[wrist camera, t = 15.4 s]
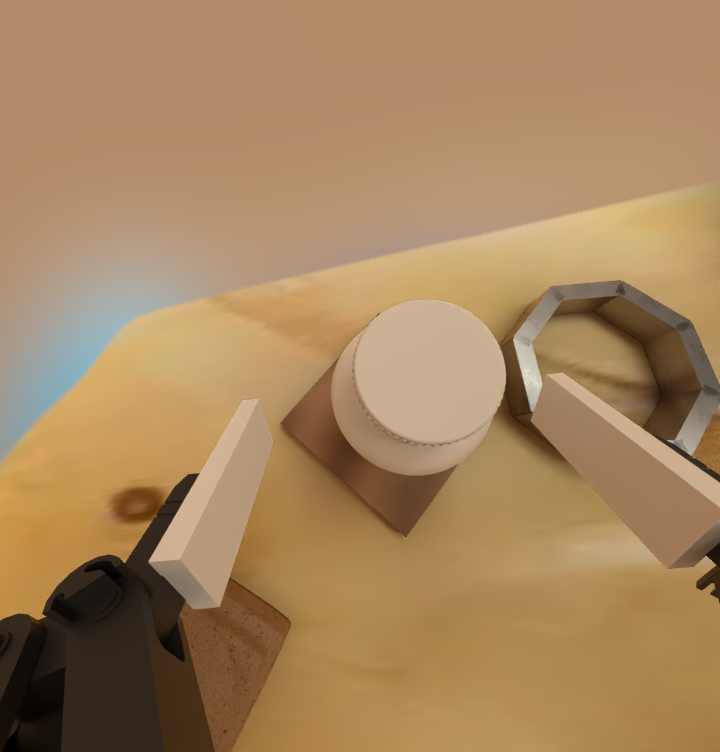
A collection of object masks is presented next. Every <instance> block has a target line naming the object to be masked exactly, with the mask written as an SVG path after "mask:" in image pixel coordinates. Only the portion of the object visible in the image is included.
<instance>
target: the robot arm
mask: <svg viewBox="0 0 720 752" xmlns="http://www.w3.org/2000/svg"><path fill="white" fill-rule="evenodd" d="M531 422H532V423H533V424H534V425H535V426H536V427H537V428H538V429H539V430H540V432H541V433H542V434H543V435H544V436H545V437H546V438H547V439H548V440H549V441H550V442H551V444H552V445H553V446H554V447H555V448H556V449H557V450H558V451H559V452H560V453H561V454H562V455H563V457H564V458H565V459H566V460H567V461H568V462H569V463H570V464H571V465H572V466H573V467H574V468H575V470H576V471H577V472H578V473H579V474H580V475H581V476H582V477H583V478H584V479H585V480H586V481H587V483H588V484H589V485H590V486H591V487H592V488H593V489H594V490H595V491H596V492H597V493H598V495H599V496H600V497H601V498H602V499H603V500H604V501H605V502H606V503H607V504H608V505H609V506H610V508H611V509H612V510H613V511H614V512H615V513H616V514H617V515H618V516H619V517H620V518H621V519H622V521H623V522H624V523H625V524H626V525H627V526H628V527H629V528H630V529H631V530H632V531H633V532H634V534H635V535H636V536H637V537H638V538H639V539H640V540H641V541H642V542H643V543H644V544H645V545H646V547H647V548H648V549H649V550H650V551H651V552H652V553H653V554H654V555H655V556H656V557H657V559H658V560H659V561H660V562H661V563H662V564H663V565H664V566H665V567H666V568H667V569H672V568H684V567H694V566H695V565H696V564H697V563H698V562H699V561H700V560H702V559H703V558H704V557H705V556H707V557H708V558H710V559H711V560H712V561H713V562H714V563H715V564H716V566H715V567H714V568H713V569H711V570H710V571H709V572H708V573H706V574H705V575H704V576H703V577H701V578H700V579H699V580H698V581H697V584H696V588H698V589H700V590H703V589H705V588H706V587H707V586H709V585H710V584H711V583H714V585H715V589H714V590H713V591H712V592H711V593H710V595H712V596H715V597H717V598H718V599H719V602H720V475H719V474H717V473H716V472H714V471H713V470H711V469H708V468H707V466H706V465H704V464H703V463H701V462H700V461H698V460H697V459H693V458H692V456H691V455H689V454H688V453H686V452H685V451H684V450H682V449H681V448H679V447H678V446H676V445H675V444H673V443H671V442H669V441H667V440H665V439H662V438H660V437H658V436H656V435H654V434H649V433H648V432H647V431H645V430H644V429H642V428H641V427H639V426H638V425H637V424H635V423H634V422H632V421H631V420H630V419H628V418H627V417H625V416H624V415H622V414H621V413H620V412H618V411H617V410H615V409H614V408H612V407H611V406H610V405H608V404H607V403H605V402H604V401H602V400H601V399H600V398H598V397H597V396H595V395H594V394H592V393H591V392H590V391H588V390H587V389H585V388H584V387H582V386H581V385H580V384H578V383H577V382H575V381H574V380H572V379H571V378H570V377H568V376H567V375H565V374H564V373H554V374H546V376H545V379H544V382H543V385H542V388H541V391H540V394H539V397H538V400H537V403H536V406H535V409H534V412H533V415H532V418H531ZM273 444H274V442H273V439H272V436H271V433H270V430H269V427H268V424H267V420H266V417H265V414H264V411H263V408H262V405H261V402H260V399H249V400H242V402H241V404H240V405H239V407H238V409H237V411H236V412H235V414H234V416H233V417H232V419H231V421H230V423H229V424H228V426H227V428H226V429H225V431H224V433H223V435H222V436H221V438H220V440H219V441H218V443H217V445H216V447H215V448H214V450H213V452H212V453H211V455H210V457H209V459H208V460H207V462H206V464H205V465H204V467H203V469H202V471H201V472H200V473H199V474H188V475H187V476H186V477H185V478H184V479H183V480H182V481H181V482H180V483H178V484H177V485H176V486H175V487H174V489H173V490H172V492H171V493H170V495H169V496H168V498H167V499H166V501H165V505H163V506H162V507H161V509H160V510H159V512H158V513H157V517H155V518H154V519H153V521H152V523H151V524H150V526H149V527H148V529H147V530H146V532H145V533H144V535H143V536H142V538H141V540H140V541H139V543H138V544H137V546H136V547H135V549H134V550H133V552H132V553H131V555H130V556H129V558H128V560H127V561H126V563H124V562H123V561H122V560H121V559H120V558H118V557H117V556H113V555H105V556H100V557H97V558H95V559H93V560H90V561H88V562H86V563H84V564H83V565H82V566H80V567H79V568H77V569H76V570H75V571H73V572H72V573H70V574H69V575H68V576H67V577H66V578H65V579H64V580H63V581H62V582H61V583H60V584H59V585H58V586H57V587H56V589H55V590H54V592H53V593H52V594H51V596H50V597H49V599H48V600H47V602H46V605H45V608H44V610H43V613H42V614H43V615H45V616H47V617H45V618H42V619H40V620H37V619H35V618H33V617H31V616H30V615H28V614H16V615H13V616H10V617H7V618H4V619H2V620H1V621H0V752H215V749H214V745H213V741H212V737H211V733H210V729H209V725H208V721H207V717H206V713H205V709H204V705H203V701H202V697H201V693H200V689H199V685H198V681H197V677H196V673H195V669H194V665H193V661H192V657H191V653H190V649H189V645H188V641H187V637H186V633H185V629H184V625H183V621H182V619H181V617H180V616H179V615H180V613H181V610H182V608H183V606H184V603H185V601H186V602H187V603H188V604H189V605H190V606H191V607H192V608H193V609H204V608H216V607H220V604H221V601H222V598H223V595H224V592H225V589H226V586H227V583H228V580H229V577H230V574H231V571H232V568H233V565H234V562H235V559H236V556H237V553H238V550H239V547H240V544H241V541H242V538H243V535H244V532H245V529H246V526H247V522H248V519H249V516H250V513H251V510H252V507H253V504H254V501H255V498H256V495H257V492H258V489H259V486H260V483H261V480H262V477H263V474H264V471H265V468H266V465H267V462H268V459H269V456H270V453H271V450H272V447H273Z"/></svg>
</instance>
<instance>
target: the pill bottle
mask: <svg viewBox="0 0 720 752" xmlns="http://www.w3.org/2000/svg"><path fill="white" fill-rule="evenodd" d="M505 385H506V367H505V363H504V358H503V354H502V351H501V349H500V346H499V344H498V342H497V340H496V339H495V337H494V336H493V334H492V333H491V331H490V330H489V329H488V328H487V326H486V325H485V324H484V323H483V322H482V321H481V320H480V319H478V318H477V317H476V316H475V315H473V314H472V313H470V312H469V311H467V310H465V309H463V308H462V307H459V306H457V305H455V304H452V303H449V302H445V301H440V300H433V299H418V300H411V301H406V302H403V303H399V304H397V305H394V306H392V307H391V308H389V309H386V310H385V311H384V312H381V313H380V314H379V315H378V316H376V317H375V318H374V319H373V321H371V322H370V323H369V325H368V327H367V326H366V328H365V329H364V330H362V331H361V332H360V333H359V334H358V335H356V336H355V337H354V338H353V339H352V341H351V342H350V343H349V344H348V345H347V347H346V348H345V349H344V351H343V353H342V354H341V356H340V358H339V360H338V362H337V365H336V367H335V371H334V374H333V379H332V388H331V397H332V406H333V411H334V414H335V418H336V420H337V423H338V425H339V428H340V430H341V431H342V433H343V435H344V436H345V438H346V439H347V441H348V442H349V443H350V445H351V446H352V447H353V448H354V449H355V450H356V451H357V452H358V453H359V454H360V455H361V456H363V457H364V458H365V459H366V460H368V461H369V462H371V463H373V464H374V465H376V466H378V467H380V468H382V469H385V470H387V471H390V472H394V473H398V474H403V475H413V476H419V475H429V474H434V473H438V472H442V471H444V470H447V469H449V468H451V467H453V466H455V465H457V464H459V463H460V462H462V461H463V460H464V459H466V458H467V457H468V456H469V455H470V454H471V453H472V452H473V451H474V450H475V449H476V448H477V447H478V446H479V444H480V443H481V442H482V440H483V439H484V437H485V435H486V434H487V432H488V430H489V427H490V425H491V422H492V419H493V415H494V414H495V413H496V412H497V410H498V409H497V408H498V407H499V406H500V404H501V400H502V399H503V396H504V395H503V393H504V392H505Z"/></svg>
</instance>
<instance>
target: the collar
mask: <svg viewBox="0 0 720 752" xmlns="http://www.w3.org/2000/svg"><path fill="white" fill-rule="evenodd" d="M591 311H593V312H595V313H596V314H598V315H599V316H601V317H603V318H604V319H606V320H607V321H609V322H611V323H612V324H614V325H615V326H617V327H619V328H620V329H622V330H623V331H625V332H627V333H628V334H630V335H631V336H633V337H635V338H636V339H638V340H639V341H641V342H642V343H643V345H644V348H645V350H646V353H647V356H648V358H649V361H650V364H651V366H652V369H653V371H654V374H655V377H656V379H657V382H658V385H659V387H660V390H661V392H662V395H663V396H662V397H661V399H660V401H659V403H658V404H657V406H656V408H655V409H654V411H653V413H652V415H651V416H650V418H649V420H648V422H647V423H646V425H645V427H644V430H645V431H647V432H648V433H649V434H654V435H656V436H658V437H660V438H662V439H665V440H667V441H669V442H671V443H673V444H675V445H676V446H678V447H679V448H681V449H682V450H684V451H685V452H686V453H688V454H689V455H691V456H692V455H693V453H694V451H695V449H696V447H697V445H698V443H699V441H700V440H701V438H702V436H703V434H704V432H705V430H706V428H707V426H708V424H709V422H710V420H711V418H712V416H713V415H714V413H715V411H716V409H717V407H718V405H719V403H720V385H719V383H718V380H717V378H716V376H715V373H714V371H713V369H712V367H711V364H710V362H709V360H708V358H707V355H706V353H705V351H704V349H703V346H702V344H701V342H700V339H699V337H698V335H697V333H696V330H695V328H694V326H693V324H692V322H691V321H690V320H688V319H686V318H685V317H683V316H681V315H680V314H678V313H676V312H675V311H673V310H671V309H669V308H668V307H666V306H664V305H663V304H661V303H659V302H658V301H656V300H654V299H653V298H651V297H649V296H647V295H646V294H644V293H642V292H641V291H639V290H637V289H636V288H634V287H632V286H631V285H629V284H627V283H625V282H624V281H621V280H618V281H607V282H596V283H585V284H574V285H562V286H552V287H550V288H549V289H548V290H547V291H546V292H544V293H543V294H542V295H541V296H540V297H538V298H537V299H536V300H535V301H534V302H532V303H531V304H530V306H529V307H528V308H527V310H526V311H525V312H524V314H523V315H522V316H521V318H520V319H519V320H518V322H517V323H516V324H515V326H514V327H513V328H512V330H511V331H510V332H509V334H508V335H507V336H506V338H505V339H504V340H503V341H502V343H501V344H500V345H499V346H500V349H501V351H502V354H503V358H504V363H505V367H506V385H505V389H506V393H507V398H508V402H509V406H510V411H511V415H513V417H514V418H515V419H516V420H518V421H519V422H520V423H522V424H523V425H524V426H526V427H527V428H529V429H530V430H531V431H533V432H534V433H535V434H537V435H538V436H539V437H541V438H542V439H543V440H545V441H546V442H547V443H549V444H550V445H551V446H553V445H552V444H551V442H550V441H549V440H548V439H547V438H546V437H545V436H544V435H543V434H542V433H541V432H540V430H539V429H538V428H537V427H536V426H535V425H534V424H533V423H532V422H531V418H532V415H533V412H534V409H535V406H536V403H537V400H538V397H539V394H540V391H541V388H542V385H543V383H542V379H541V376H540V372H539V368H538V365H537V361H536V357H535V353H534V350H533V346H532V342H533V340H534V339H535V338H536V336H537V335H538V333H539V332H540V331H541V329H542V328H543V327H544V325H545V324H546V322H547V321H548V320H549V318H550V317H551V316H552V315H557V314H568V313H580V312H591ZM553 447H554V446H553ZM554 448H555V447H554ZM555 449H556V448H555Z"/></svg>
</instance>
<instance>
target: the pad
mask: <svg viewBox="0 0 720 752" xmlns="http://www.w3.org/2000/svg"><path fill="white" fill-rule="evenodd" d="M379 314H380V313H378V314H377V316H378V315H379ZM372 321H373V320H372ZM367 327H368V326H367ZM339 358H340V357H339ZM339 358H338V359H337V360H336V361H335V363H334V364H333V365H332V366H331V367H330V368H329V369H328V370H327V372H326V373H325V374H324V375H323V376H322V377H321V378H320V379H319V380H318V382H317V383H316V384H315V385H314V386H313V387H312V388H311V389H310V391H309V392H308V393H307V394H306V395H305V396H304V397H303V398H302V400H301V401H300V402H299V403H298V404H297V405H296V406H295V407H294V408H293V410H292V411H291V412H290V413H289V414H288V415H287V416H286V417H285V419H284V420H283V421H282V422H281V423H280V424H281V425H283V426H284V427H285V428H286V429H287V430H288V431H289V432H290V433H291V434H292V435H294V436H295V437H296V438H297V439H298V440H299V441H300V442H301V443H302V444H303V445H305V446H306V447H307V448H308V449H309V450H310V451H311V452H312V453H313V454H314V455H316V456H317V457H318V458H319V459H320V460H321V461H322V462H323V463H324V464H325V465H327V466H328V467H329V468H330V469H331V470H332V471H333V472H334V473H335V474H336V475H338V476H339V477H340V478H341V479H342V480H343V481H344V482H345V483H346V484H347V485H349V486H350V487H351V488H352V489H353V490H354V491H355V492H356V493H357V494H358V495H360V496H361V497H362V498H363V499H364V500H365V501H366V502H367V503H368V504H369V505H371V506H372V507H373V508H374V509H375V510H376V511H377V512H378V513H379V514H380V515H382V516H383V517H384V518H385V519H386V520H387V521H388V522H389V523H390V524H391V525H393V526H394V527H395V528H396V529H397V530H398V531H399V532H400V533H401V534H402V535H404V536H405V537H407V535H408V534H409V532H410V531H411V530H412V528H413V527H414V525H415V524H416V523H417V521H418V520H419V518H420V517H421V515H422V514H423V513H424V511H425V510H426V508H427V507H428V506H429V504H430V503H431V501H432V500H433V499H434V497H435V496H436V494H437V493H438V492H439V490H440V489H441V487H442V486H443V485H444V483H445V482H446V480H447V479H448V478H449V476H450V475H451V473H452V472H453V471H454V469H455V468H456V466H457V465H458V464H457V465H455V466H453V467H451V468H449V469H447V470H444V471H442V472H438V473H434V474H429V475H419V476H413V475H403V474H398V473H394V472H390V471H387V470H385V469H382V468H380V467H378V466H376V465H374V464H373V463H371V462H369V461H368V460H366V459H365V458H364V457H363V456H361V455H360V454H359V453H358V452H357V451H356V450H355V449H354V448H353V447H352V446H351V445H350V443H349V442H348V441H347V439H346V438H345V436H344V435H343V433H342V431H341V430H340V428H339V425H338V423H337V420H336V418H335V414H334V411H333V406H332V397H331V388H332V379H333V374H334V371H335V367H336V365H337V362H338V360H339ZM500 405H501V404H500ZM498 408H499V407H498ZM498 408H497V409H498Z"/></svg>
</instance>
